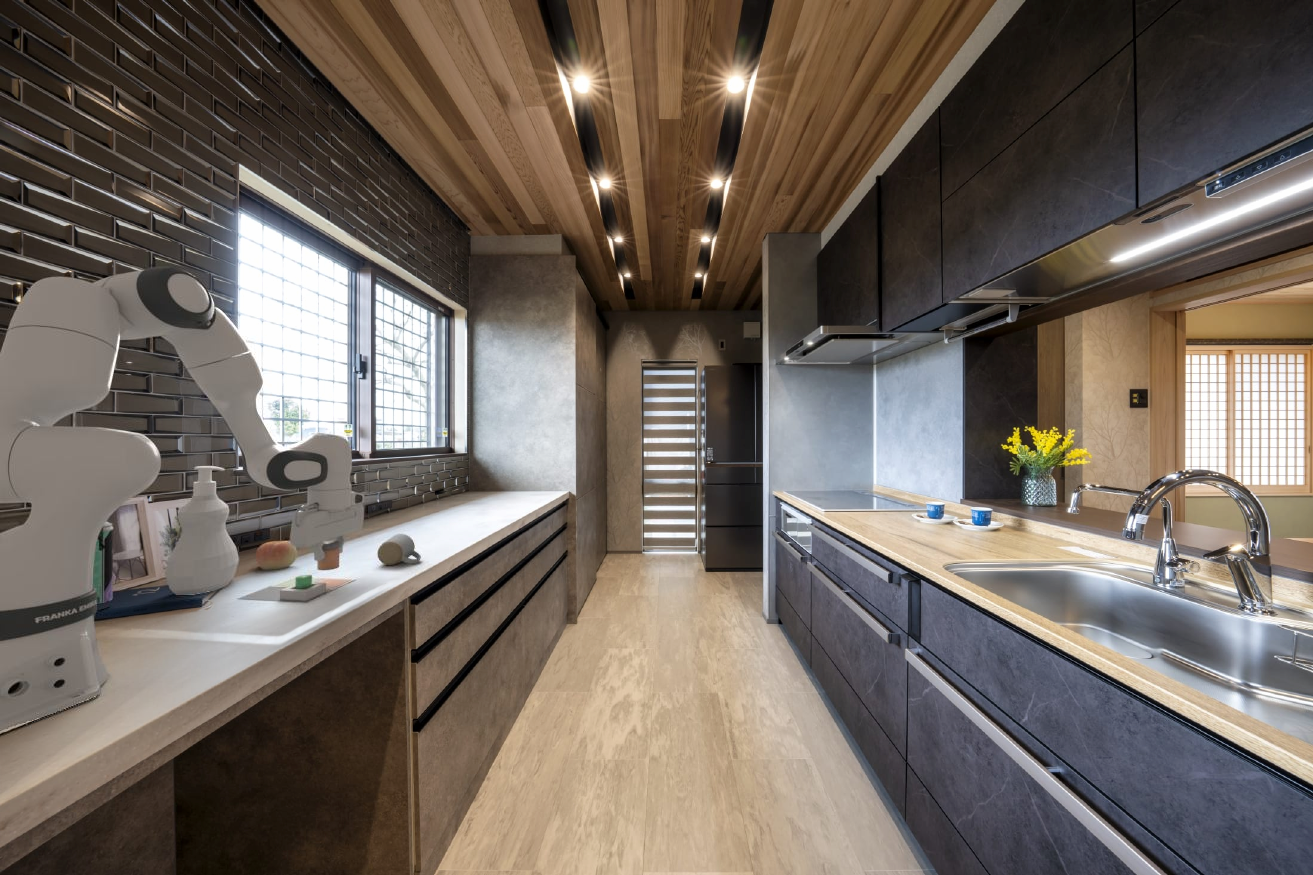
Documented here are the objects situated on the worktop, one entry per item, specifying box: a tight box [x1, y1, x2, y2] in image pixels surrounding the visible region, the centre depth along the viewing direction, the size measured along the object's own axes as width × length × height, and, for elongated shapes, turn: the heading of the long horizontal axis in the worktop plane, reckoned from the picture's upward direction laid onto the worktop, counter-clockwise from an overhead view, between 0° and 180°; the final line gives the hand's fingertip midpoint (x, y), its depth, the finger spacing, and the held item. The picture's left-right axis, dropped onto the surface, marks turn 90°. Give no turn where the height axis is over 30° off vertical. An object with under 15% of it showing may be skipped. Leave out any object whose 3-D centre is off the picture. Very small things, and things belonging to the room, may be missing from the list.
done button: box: [295, 574, 313, 589], centre depth 109 cm, size 3×3×2 cm
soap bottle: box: [164, 465, 240, 596], centre depth 113 cm, size 17×12×29 cm
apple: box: [255, 540, 298, 571], centre depth 131 cm, size 9×9×8 cm
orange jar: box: [316, 540, 341, 571], centre depth 118 cm, size 5×5×6 cm
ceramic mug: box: [377, 533, 422, 566], centre depth 141 cm, size 11×8×8 cm
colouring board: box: [237, 576, 356, 604], centre depth 114 cm, size 16×16×3 cm
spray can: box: [93, 521, 114, 604], centre depth 101 cm, size 6×6×20 cm
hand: (328, 556), depth 118 cm, fingers closed on orange jar, 4 cm apart
